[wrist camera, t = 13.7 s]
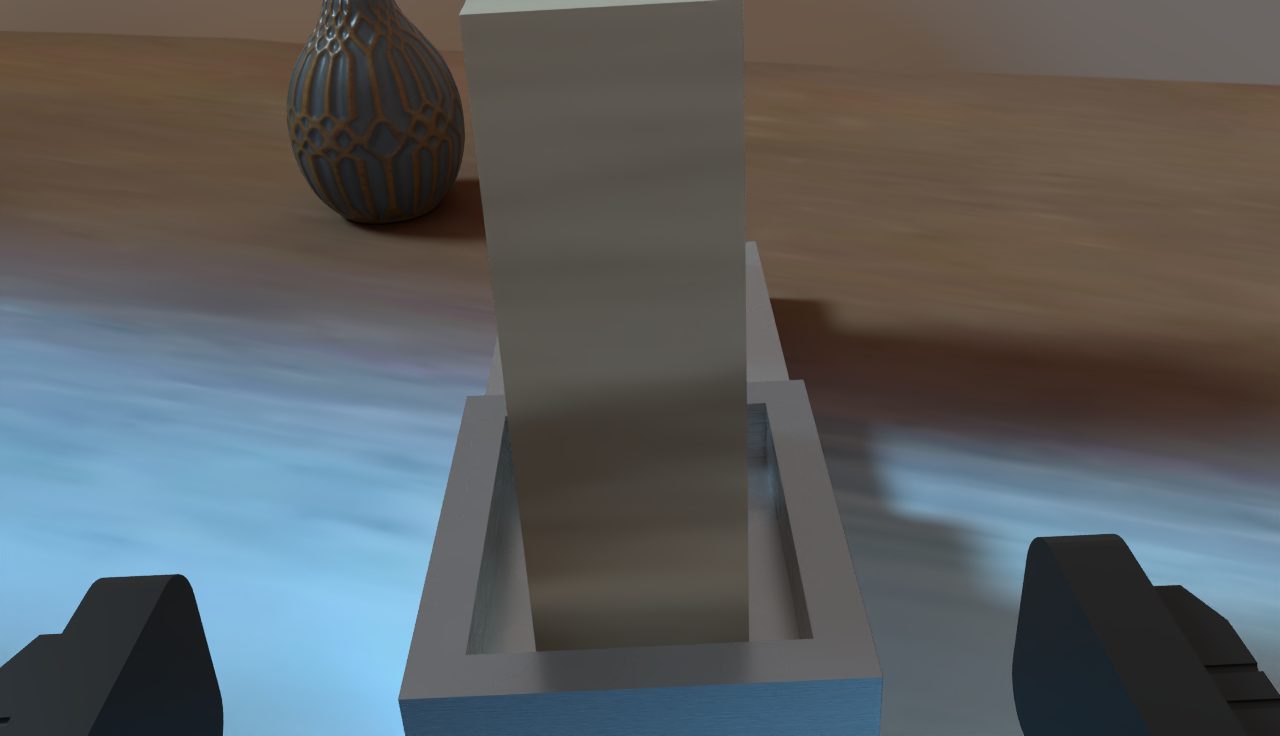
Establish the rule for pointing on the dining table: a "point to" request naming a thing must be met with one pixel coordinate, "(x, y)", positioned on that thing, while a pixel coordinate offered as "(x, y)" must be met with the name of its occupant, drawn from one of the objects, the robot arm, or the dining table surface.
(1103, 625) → the robot arm
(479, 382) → the dining table surface
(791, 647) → the grey stand with upright
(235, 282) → the dining table surface
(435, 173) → the vase
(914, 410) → the dining table surface
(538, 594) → the tall beige block
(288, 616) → the dining table surface
